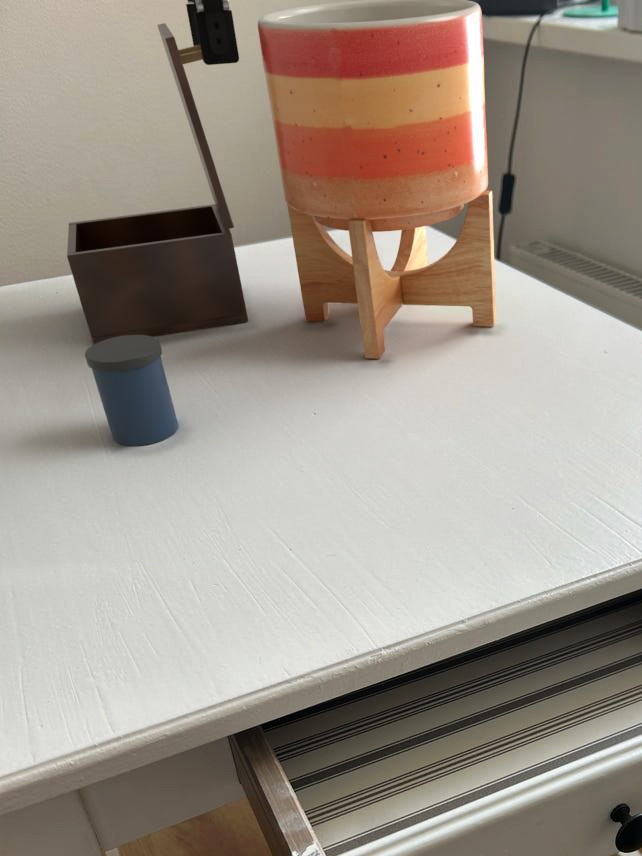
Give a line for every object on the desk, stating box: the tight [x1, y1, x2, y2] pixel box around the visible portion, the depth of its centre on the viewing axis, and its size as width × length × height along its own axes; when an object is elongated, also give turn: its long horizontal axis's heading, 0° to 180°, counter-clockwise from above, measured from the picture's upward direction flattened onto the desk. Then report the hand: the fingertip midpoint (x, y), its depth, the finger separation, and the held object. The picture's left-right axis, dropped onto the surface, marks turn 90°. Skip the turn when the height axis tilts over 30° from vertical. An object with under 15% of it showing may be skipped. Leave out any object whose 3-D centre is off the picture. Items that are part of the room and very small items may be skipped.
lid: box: [157, 22, 235, 230], centre depth 96 cm, size 16×13×6 cm
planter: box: [257, 0, 497, 360], centre depth 91 cm, size 20×20×27 cm
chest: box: [66, 203, 249, 345], centre depth 102 cm, size 16×13×9 cm
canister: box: [84, 335, 179, 447], centre depth 80 cm, size 6×6×7 cm
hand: (216, 57), depth 93 cm, fingers open, 9 cm apart
